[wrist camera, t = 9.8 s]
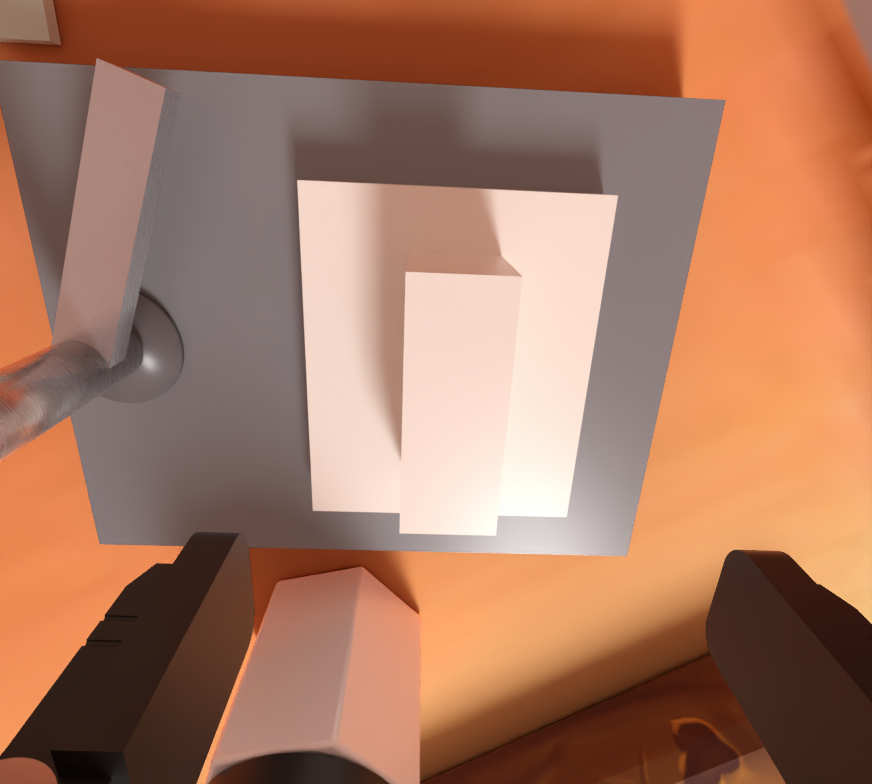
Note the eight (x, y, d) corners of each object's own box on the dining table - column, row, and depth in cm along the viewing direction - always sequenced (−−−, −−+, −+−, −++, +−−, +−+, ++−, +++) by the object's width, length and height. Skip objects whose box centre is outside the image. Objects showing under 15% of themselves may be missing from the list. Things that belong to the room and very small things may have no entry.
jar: (225, 620, 29) (99, 902, 17) (333, 535, 27) (269, 790, 16) (344, 708, 31) (299, 1001, 20) (450, 636, 29) (466, 916, 18)
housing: (605, 516, 27) (629, 560, 24) (134, 504, 26) (95, 548, 23) (683, 111, 20) (730, 98, 17) (53, 77, 19) (-18, 57, 16)
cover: (557, 496, 23) (596, 589, 18) (319, 489, 22) (288, 582, 17) (603, 194, 18) (672, 200, 13) (306, 179, 18) (260, 180, 13)
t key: (209, 104, 16) (-156, -23, 6) (124, 473, 21) (-164, 758, 11) (126, 67, 16) (-415, -134, 6) (58, 453, 21) (-306, 727, 10)
